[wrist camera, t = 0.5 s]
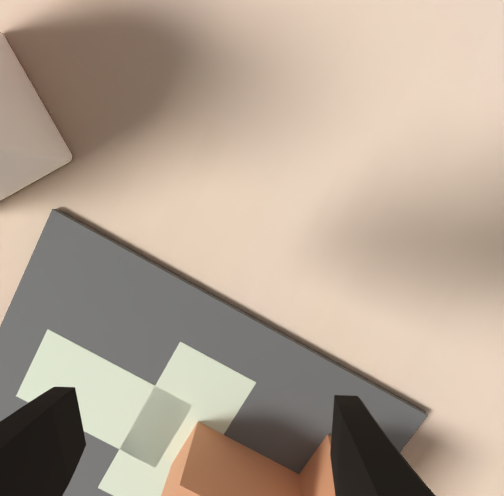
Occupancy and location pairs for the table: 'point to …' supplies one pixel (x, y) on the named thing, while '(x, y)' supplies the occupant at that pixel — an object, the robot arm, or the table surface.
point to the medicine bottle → (24, 129)
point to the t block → (243, 470)
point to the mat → (164, 365)
